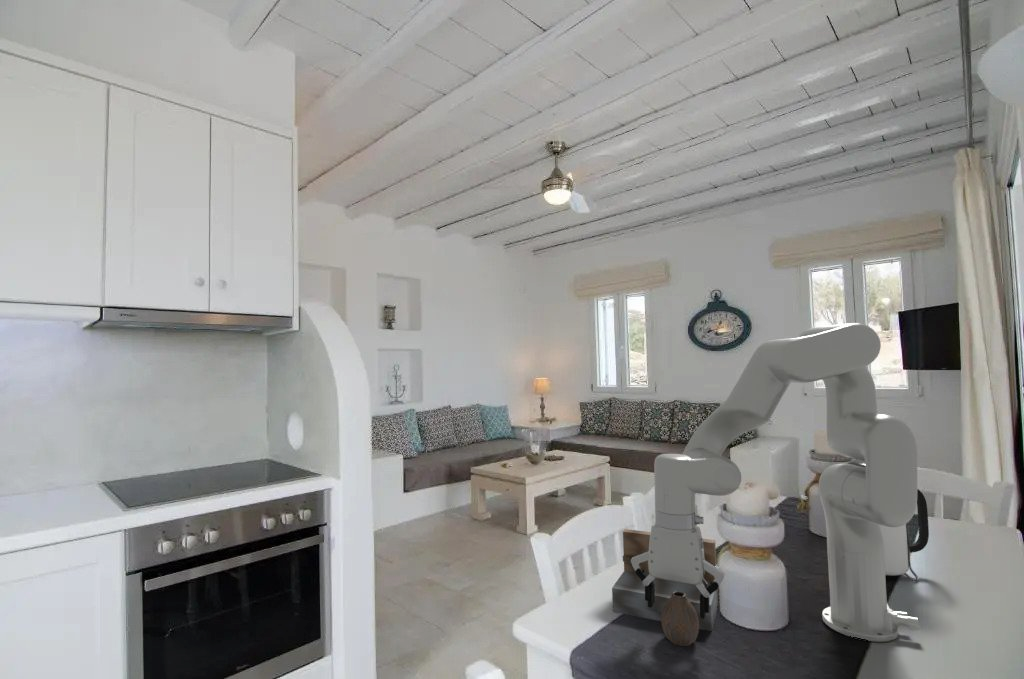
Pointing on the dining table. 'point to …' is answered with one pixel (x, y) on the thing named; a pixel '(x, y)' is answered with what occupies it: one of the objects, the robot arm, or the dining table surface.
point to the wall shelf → (657, 583)
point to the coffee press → (902, 539)
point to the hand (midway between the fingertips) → (676, 610)
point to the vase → (680, 620)
